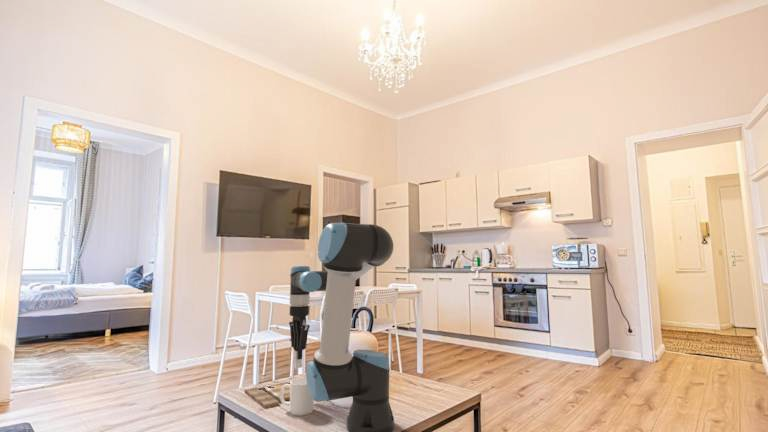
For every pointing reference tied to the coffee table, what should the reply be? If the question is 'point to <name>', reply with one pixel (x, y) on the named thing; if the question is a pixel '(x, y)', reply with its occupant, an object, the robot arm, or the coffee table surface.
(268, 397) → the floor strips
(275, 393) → the plank
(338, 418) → the coffee table surface
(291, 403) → the cup
